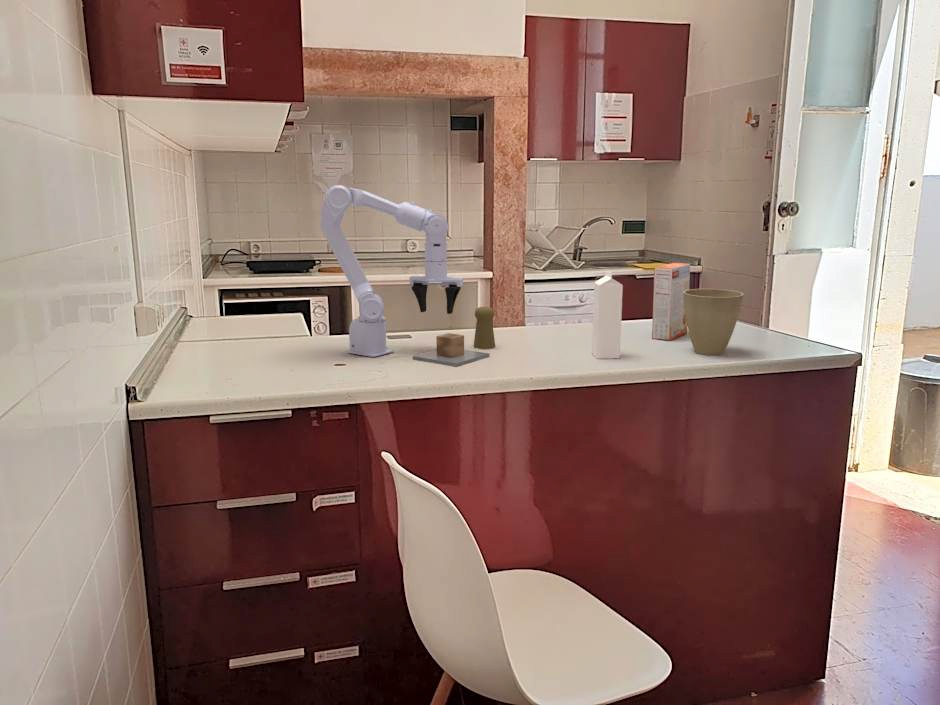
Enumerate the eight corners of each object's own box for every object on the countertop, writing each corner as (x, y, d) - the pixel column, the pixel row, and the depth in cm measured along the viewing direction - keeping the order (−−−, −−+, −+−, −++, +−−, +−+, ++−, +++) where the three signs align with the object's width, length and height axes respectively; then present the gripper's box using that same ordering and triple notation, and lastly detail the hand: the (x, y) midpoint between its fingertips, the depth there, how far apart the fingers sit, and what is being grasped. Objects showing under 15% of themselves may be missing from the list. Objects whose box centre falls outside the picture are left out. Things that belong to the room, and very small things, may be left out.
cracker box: (668, 331, 228) (672, 262, 223) (687, 333, 224) (692, 263, 220) (649, 338, 217) (653, 266, 212) (670, 341, 213) (674, 267, 209)
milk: (614, 353, 198) (618, 269, 193) (619, 358, 192) (624, 272, 187) (591, 353, 198) (594, 269, 193) (596, 358, 192) (599, 272, 187)
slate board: (412, 359, 192) (412, 356, 192) (446, 349, 203) (446, 346, 203) (456, 366, 184) (456, 363, 183) (489, 356, 195) (489, 353, 194)
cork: (492, 349, 203) (493, 309, 200) (471, 348, 204) (470, 308, 202) (497, 345, 208) (497, 305, 206) (476, 344, 210) (475, 305, 207)
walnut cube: (436, 355, 192) (436, 336, 191) (448, 352, 196) (448, 333, 195) (452, 358, 189) (452, 338, 188) (464, 354, 193) (464, 335, 192)
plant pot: (669, 348, 204) (672, 289, 201) (718, 345, 208) (722, 287, 204) (698, 360, 190) (702, 297, 187) (750, 357, 194) (755, 295, 190)
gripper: (403, 261, 195) (404, 313, 198) (455, 263, 190) (456, 316, 192) (415, 258, 201) (416, 309, 204) (466, 260, 196) (466, 312, 199)
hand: (436, 312), depth 199 cm, fingers open, 7 cm apart
